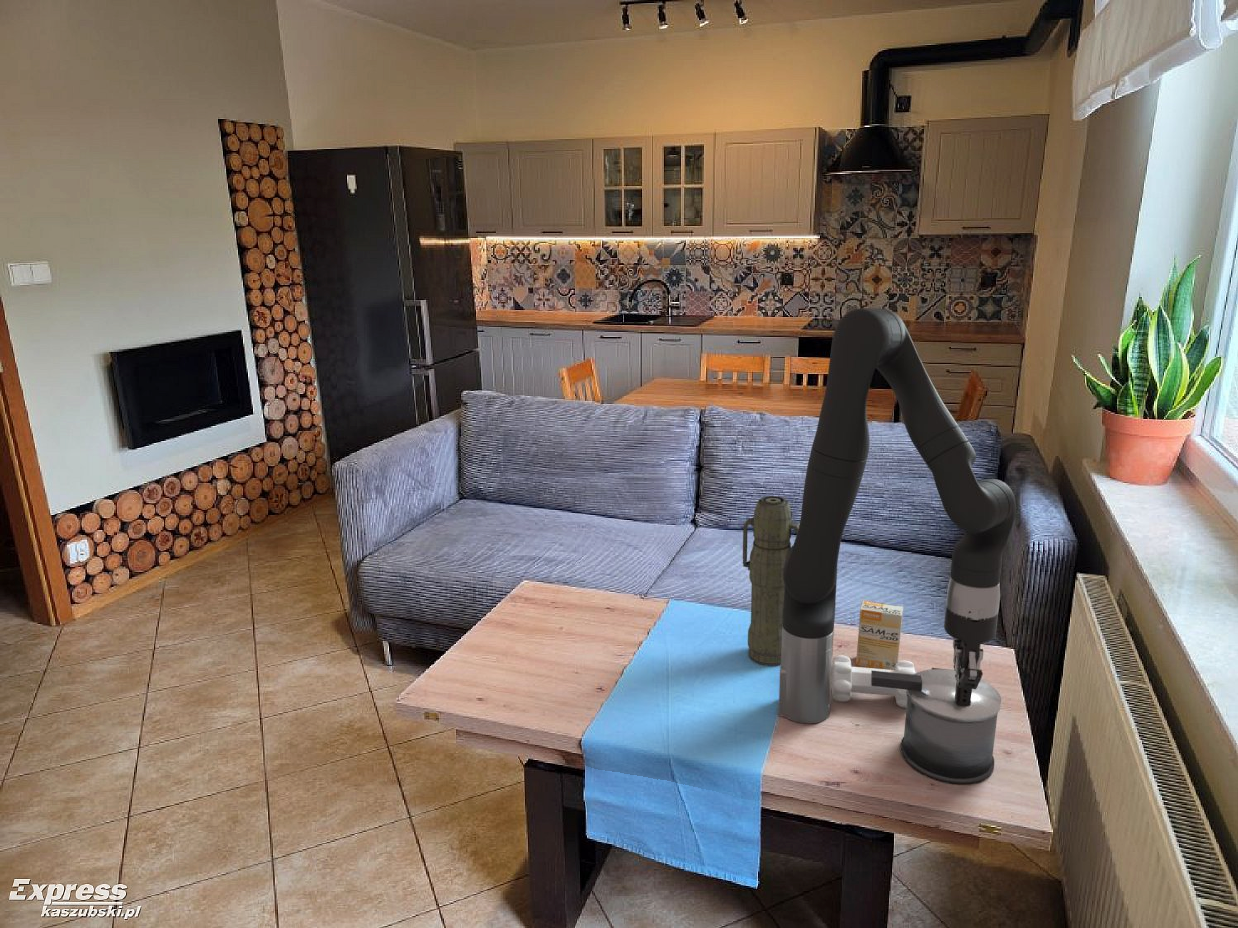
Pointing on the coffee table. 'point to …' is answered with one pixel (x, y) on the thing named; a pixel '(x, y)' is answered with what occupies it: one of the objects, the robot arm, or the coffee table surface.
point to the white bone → (865, 680)
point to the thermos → (767, 577)
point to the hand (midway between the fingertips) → (962, 703)
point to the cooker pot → (948, 747)
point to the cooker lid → (942, 694)
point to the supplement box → (879, 635)
